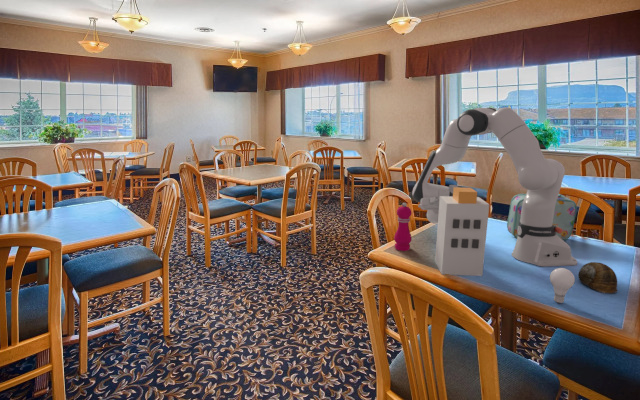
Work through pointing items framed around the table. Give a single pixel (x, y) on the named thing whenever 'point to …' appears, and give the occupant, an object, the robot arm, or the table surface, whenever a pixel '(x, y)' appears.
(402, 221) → the pepper mill
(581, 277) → the seashell
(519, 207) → the lunch box
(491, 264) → the table surface
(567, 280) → the lightbulb
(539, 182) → the robot arm
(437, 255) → the cabinet
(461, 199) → the handle
